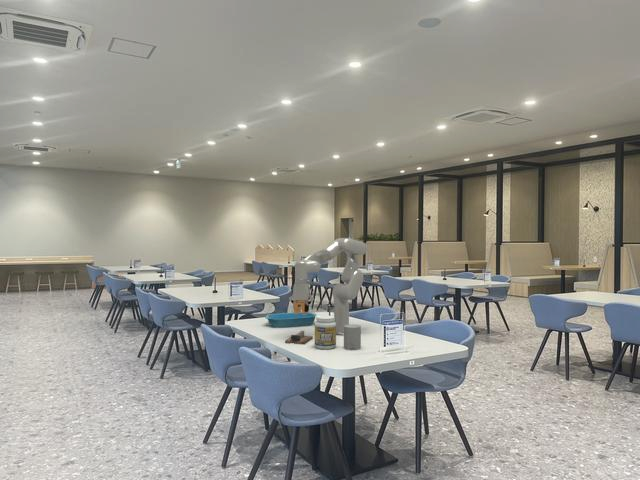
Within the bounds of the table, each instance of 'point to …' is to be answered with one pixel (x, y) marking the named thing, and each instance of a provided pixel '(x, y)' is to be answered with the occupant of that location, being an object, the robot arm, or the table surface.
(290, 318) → the casserole dish
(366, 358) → the table surface
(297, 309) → the lock block
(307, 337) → the rail board
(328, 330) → the supplement tub
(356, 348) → the gray cylinder
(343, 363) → the table surface
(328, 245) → the robot arm
